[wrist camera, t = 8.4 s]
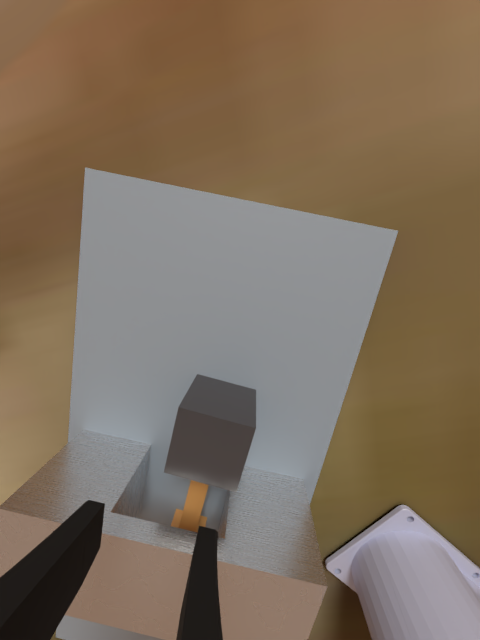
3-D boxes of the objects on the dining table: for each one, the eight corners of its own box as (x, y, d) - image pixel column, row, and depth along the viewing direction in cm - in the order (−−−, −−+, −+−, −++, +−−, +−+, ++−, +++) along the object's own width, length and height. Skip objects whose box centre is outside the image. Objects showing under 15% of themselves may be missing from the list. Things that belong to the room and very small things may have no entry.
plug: (211, 540, 19) (199, 610, 15) (161, 526, 19) (136, 592, 15) (256, 389, 16) (255, 428, 12) (197, 373, 16) (178, 407, 12)
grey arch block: (283, 545, 19) (295, 671, 13) (78, 496, 19) (-2, 598, 13) (303, 479, 17) (327, 586, 11) (83, 429, 18) (-3, 508, 12)
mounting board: (251, 671, 23) (251, 685, 22) (62, 624, 23) (55, 637, 22) (390, 232, 15) (398, 231, 14) (94, 173, 15) (85, 167, 14)
